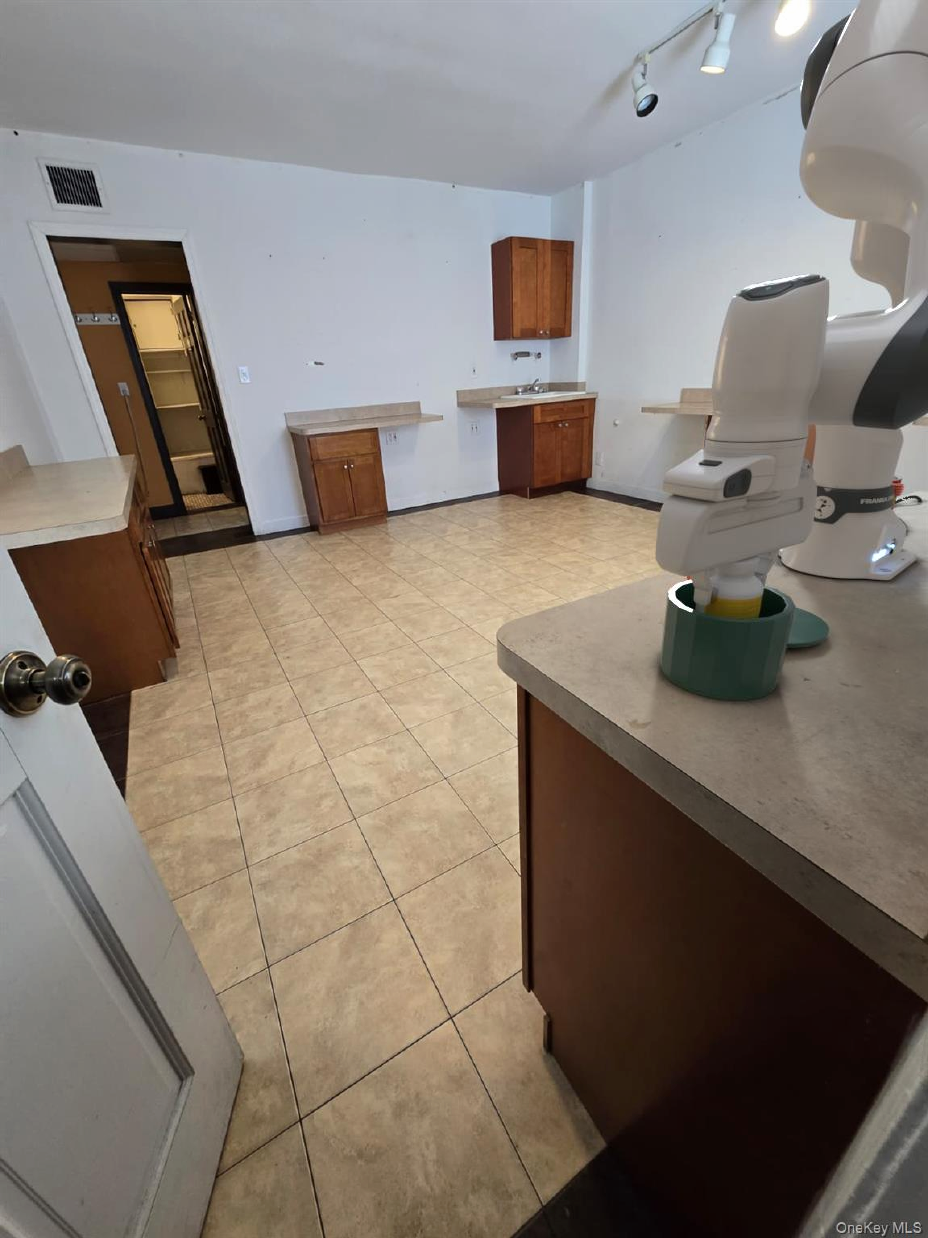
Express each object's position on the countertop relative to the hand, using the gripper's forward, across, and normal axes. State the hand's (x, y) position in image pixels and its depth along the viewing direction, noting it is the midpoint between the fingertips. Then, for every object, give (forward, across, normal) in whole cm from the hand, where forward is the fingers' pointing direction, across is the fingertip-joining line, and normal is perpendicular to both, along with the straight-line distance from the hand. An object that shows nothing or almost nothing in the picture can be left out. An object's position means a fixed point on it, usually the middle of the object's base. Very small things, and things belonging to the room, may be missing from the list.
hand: (728, 595), depth 57 cm
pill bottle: (+7, 0, 0) cm, 7 cm away
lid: (+9, -15, -4) cm, 18 cm away
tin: (+10, 0, 0) cm, 10 cm away
